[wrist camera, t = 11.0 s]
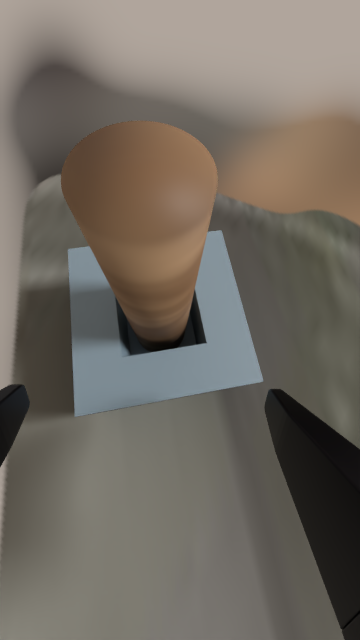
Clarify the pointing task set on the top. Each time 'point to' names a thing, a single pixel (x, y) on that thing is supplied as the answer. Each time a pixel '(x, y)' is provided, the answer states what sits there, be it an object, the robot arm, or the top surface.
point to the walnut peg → (144, 219)
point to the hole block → (162, 366)
